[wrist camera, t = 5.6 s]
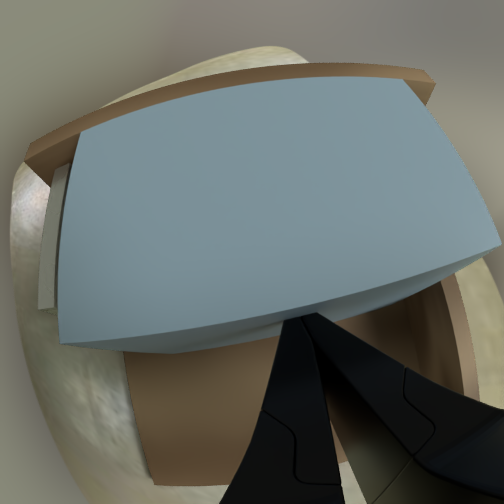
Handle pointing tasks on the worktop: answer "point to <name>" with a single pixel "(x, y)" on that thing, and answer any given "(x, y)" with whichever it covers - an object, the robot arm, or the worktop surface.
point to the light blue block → (260, 214)
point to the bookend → (52, 241)
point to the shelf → (263, 351)
